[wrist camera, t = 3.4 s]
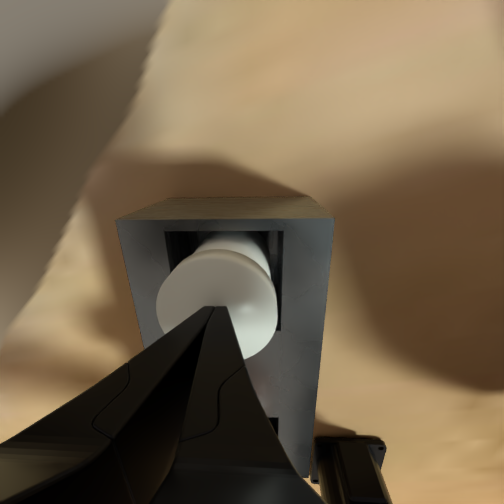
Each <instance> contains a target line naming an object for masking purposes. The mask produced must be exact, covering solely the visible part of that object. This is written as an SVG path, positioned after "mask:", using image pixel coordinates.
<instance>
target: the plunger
mask: <svg viewBox="0 0 504 504" xmlns="http://www.w3.org/2000/svg"><path fill="white" fill-rule="evenodd" d="M203 306H215V307H216V306H227V308H228V311H229V314H230V317H231V320H232V323H233V326H234V329H235V333H236V336H237V339H238V342H239V345H240V348H241V352H242V355H243V358H244V359H246V358H249V357H251V356H253V355H255V354H256V353H258V352H259V351H260V350H262V349H263V348H264V347H265V346H266V345H267V344H268V342H269V341H270V339H271V338H272V336H273V334H274V332H275V329H276V325H277V318H278V315H277V300H276V292H275V288H274V285H273V282H272V281H271V272H270V252H269V248H268V245H267V243H266V241H265V240H264V238H263V237H262V236H261V235H260V234H259V233H258V232H257V231H211V232H210V233H209V234H208V235H207V237H206V238H205V239H204V240H203V242H202V243H201V244H200V246H199V247H198V248H197V249H196V251H195V252H194V253H193V254H192V255H190V256H188V257H187V258H185V259H184V260H183V261H181V262H180V263H179V264H178V265H177V266H176V268H175V269H174V270H173V271H172V272H171V274H170V275H169V276H168V277H167V278H166V280H165V281H164V282H163V284H162V286H161V287H160V290H159V292H158V295H157V300H156V313H157V318H158V321H159V324H160V326H161V328H162V330H163V332H164V333H165V334H166V333H168V332H169V331H170V330H172V329H173V328H174V327H176V326H177V325H179V324H180V323H181V322H183V321H184V320H185V319H187V318H188V317H190V316H191V315H192V314H194V313H195V312H196V311H198V310H199V309H201V308H202V307H203Z"/></svg>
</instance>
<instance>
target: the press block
mask: <svg viewBox="0 0 504 504" xmlns="http://www.w3.org/2000/svg"><path fill="white" fill-rule="evenodd" d="M115 221H116V226H117V230H118V235H119V239H120V244H121V248H122V252H123V257H124V261H125V266H126V270H127V275H128V279H129V283H130V288H131V292H132V297H133V301H134V306H135V310H136V314H137V319H138V323H139V328H140V332H141V337H142V341H143V345H144V349H146V348H147V347H148V346H150V345H151V344H152V343H154V342H155V341H157V340H158V339H159V338H161V337H162V336H163V335H165V333H164V332H163V330H162V328H161V326H160V324H159V321H158V318H157V313H156V300H157V295H158V292H159V290H160V287H161V286H162V284H163V282H164V281H165V280H166V278H167V277H168V276H169V275H170V274H171V272H172V271H173V270H174V269H175V268H176V266H177V265H178V264H179V263H180V262H181V261H183V260H184V259H185V258H187V257H188V256H190V255H192V254H193V253H194V252H195V251H196V249H197V248H198V247H199V246H200V244H201V243H202V242H203V240H204V239H205V238H206V237H207V235H208V234H209V233H210V232H211V231H257V232H258V233H259V234H260V235H261V236H262V237H263V238H264V240H265V241H266V243H267V245H268V248H269V252H270V272H271V281H272V282H273V285H274V288H275V292H276V300H277V315H278V318H277V325H276V329H275V332H274V334H273V336H272V338H271V339H270V341H269V342H268V344H267V345H266V346H265V347H264V348H263V349H262V350H260V351H259V352H258V353H256V354H255V355H253V356H251V357H249V358H246V359H244V361H245V364H246V367H247V370H248V373H249V376H250V379H251V382H252V384H253V387H254V390H255V392H256V394H257V396H258V399H259V401H260V403H261V405H262V407H263V409H264V411H265V413H266V415H267V417H268V419H269V421H270V423H271V425H272V427H273V429H274V431H275V433H276V435H277V436H278V438H279V440H280V442H281V444H282V446H283V448H284V450H285V452H286V454H287V456H288V457H289V459H290V461H291V462H292V464H293V466H294V467H295V469H296V470H297V472H298V473H299V474H300V476H301V477H302V478H309V468H310V458H311V448H312V438H313V429H314V419H315V409H316V399H317V389H318V379H319V370H320V360H321V350H322V340H323V330H324V320H325V311H326V301H327V291H328V281H329V271H330V261H331V252H332V242H333V232H334V222H335V218H334V217H333V216H332V215H331V214H330V213H328V212H327V211H326V210H325V209H324V208H323V207H321V206H320V205H319V204H318V203H317V202H316V201H315V200H313V199H312V198H311V197H310V196H302V197H227V198H169V199H166V200H164V201H161V202H159V203H156V204H154V205H151V206H149V207H146V208H144V209H141V210H139V211H136V212H134V213H131V214H129V215H126V216H124V217H121V218H119V219H116V220H115Z"/></svg>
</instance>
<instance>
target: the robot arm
mask: <svg viewBox="0 0 504 504" xmlns="http://www.w3.org/2000/svg"><path fill="white" fill-rule="evenodd" d="M385 452H386V445H385V443H384V441H382V440H365V439H343V438H322V437H318V438H315V439H314V442H313V452H312V461H311V471H310V480H311V483H313V484H320V491H321V496H320V495H319V494H318V493H317V492H316V491H315V490H314V489H313V488H312V487H311V486H310V485H309V484H308V483H307V482H306V481H305V480H304V479H303V478H302V477H301V476H300V474H299V473H298V472H297V470H296V469H295V467H294V466H293V464H292V462H291V461H290V459H289V457H288V456H287V454H286V452H285V450H284V448H283V446H282V444H281V442H280V440H279V438H278V436H277V435H276V433H275V431H274V429H273V427H272V425H271V423H270V421H269V419H268V417H267V415H266V413H265V411H264V409H263V407H262V405H261V403H260V401H259V399H258V396H257V394H256V392H255V390H254V387H253V384H252V382H251V379H250V376H249V373H248V370H247V367H246V364H245V361H244V358H243V355H242V352H241V348H240V345H239V342H238V339H237V336H236V333H235V329H234V326H233V323H232V320H231V317H230V314H229V311H228V308H227V306H216V307H215V306H203V307H202V308H201V309H199V310H198V311H196V312H195V313H194V314H192V315H191V316H190V317H188V318H187V319H185V320H184V321H183V322H181V323H180V324H179V325H177V326H176V327H174V328H173V329H172V330H170V331H169V332H168V333H166V334H165V335H163V336H162V337H161V338H159V339H158V340H157V341H155V342H154V343H152V344H151V345H150V346H148V347H147V348H146V349H144V350H143V351H141V352H140V353H139V354H137V355H136V356H135V357H133V358H132V359H130V360H129V361H128V363H125V364H123V365H122V366H121V367H119V368H118V369H117V370H115V371H114V372H112V373H111V374H110V375H108V376H107V377H105V378H104V379H102V380H101V381H100V382H98V383H97V384H95V385H94V386H92V387H91V388H89V389H87V390H86V391H84V392H83V393H81V394H80V395H78V396H77V397H75V398H74V399H72V400H70V401H69V402H67V403H66V404H64V405H62V406H61V407H59V408H58V409H56V410H55V411H53V412H51V413H50V414H48V415H47V416H45V417H43V418H42V419H40V420H39V421H37V422H36V423H34V424H32V425H31V426H29V427H28V428H26V429H24V430H23V431H21V432H20V433H18V434H16V435H15V436H13V437H11V438H10V439H8V440H6V441H5V442H3V443H1V444H0V504H393V503H392V501H391V498H390V495H389V492H388V490H387V487H386V484H385V481H384V479H383V476H382V473H381V467H382V463H383V460H384V456H385Z"/></svg>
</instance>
